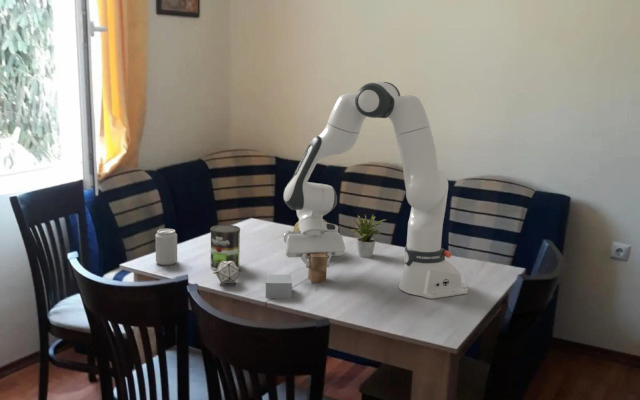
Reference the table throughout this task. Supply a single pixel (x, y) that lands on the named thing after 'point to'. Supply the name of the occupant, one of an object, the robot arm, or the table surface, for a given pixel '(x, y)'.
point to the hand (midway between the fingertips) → (318, 266)
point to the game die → (227, 271)
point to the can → (166, 247)
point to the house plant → (366, 236)
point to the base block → (278, 286)
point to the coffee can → (224, 244)
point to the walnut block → (317, 267)
